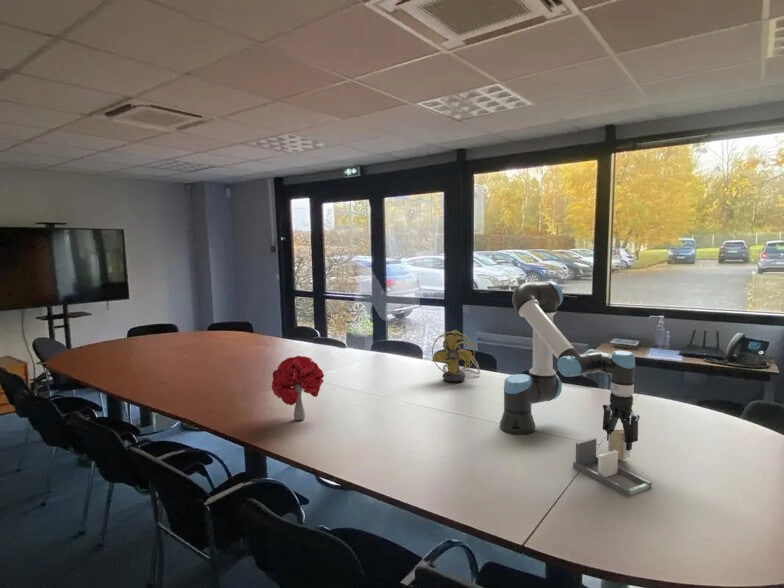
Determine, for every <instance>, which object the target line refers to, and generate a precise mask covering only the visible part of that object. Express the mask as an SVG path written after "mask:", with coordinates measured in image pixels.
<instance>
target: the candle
mask: <svg viewBox="0 0 784 588" xmlns="http://www.w3.org/2000/svg"><path fill="white" fill-rule="evenodd" d="M623 441H625V435H624V429H614V431H613V432H611V450H610V451H613V450H616V451H618V460H625V459H624V458H623Z"/></svg>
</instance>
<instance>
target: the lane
mask: <svg viewBox="0 0 784 588" xmlns="http://www.w3.org/2000/svg"><path fill="white" fill-rule="evenodd" d="M594 463H597V464H598V455H597V438H596V437H591V438H588V439H584V440H580V441H576V442H575V461H572V468H574V469H576V470H578V471H579V472H582V473H583V474H586V475H587V476H589V477H590V478H593V479H594V480H597V482H600V483H602V484H604V485H605V486H608V487H610V488H611V489H613V490H615V491H617V492H619V493H621V494H623V496H626V497H629V496H632V495H634V494H637V493H640V492H643V491H645V489H646V490H648V489H650V488H652V482H651V481H649V480H648V479H645V478H644V477H642V476H640V475H637V474H635V473H633V472H631V471H629V470H627V469H625V468H623V467H622V466H619V465H618V470H617V474H619V475H621V476H623V477H625V478H627V479H629V480H630V481H633V482H634V483H635V482H636V483H637V484H638V485H636V486H633V487H630V488H627V487H625V486H623V485H621V484H620V483H618V482H616V481H614V480H612V479H610V478H608V477H605V476H603V475H601V474H599V473H598V471H596V470H593V469H591V468H589V467H587V466H588V465H592V464H594Z"/></svg>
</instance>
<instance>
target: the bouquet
mask: <svg viewBox="0 0 784 588" xmlns="http://www.w3.org/2000/svg"><path fill="white" fill-rule="evenodd" d="M324 377H325V374H324V372H323V369H321V368H320V367H319V366H318V363H316V362H315V361H314V360H313V359H312V358H311V357H307V356H301V355H297V356H290V357H287V358H285V359H284V360H283V361H281V363H279V364H278V366H277V369H275V370H273V372H272V381H271V389H272V392H273V394H274V395H275V396H276V397H277V398H278V399H281V401H282V402H283V403H284V404H285V405H289V406H294V410H293V419H294V420H296V421H300V420H304V419H305V418H306V412H305V408H304V405H303V401H302V392H303V393H306V394H309V395H311V396H313V397H315V398H317V397H318V396H319V392H320V389H321V387H322V384H323V383H324V379H323V378H324Z"/></svg>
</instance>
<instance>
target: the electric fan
mask: <svg viewBox="0 0 784 588" xmlns="http://www.w3.org/2000/svg"><path fill="white" fill-rule="evenodd" d="M450 333H452V334H450ZM446 334H449V335H447V336H446ZM460 335H461V336H460ZM439 338H444V341H442V348H443V351H437V352H435V353H434V347H435V345H436V342H437V341H438V340H439ZM463 339H467V340H468V341H469V342H468V341H465V340H463ZM458 340H460V341H459V342H458ZM461 340H463V341H461ZM446 342H447V344H446ZM461 344H463V345H466V346H467V347H469V349H470V348H472V350H473V353H472V352H471V351H470V350H466V349H462V346H461ZM475 351H476V350H475V347H474V344H473V343H472V341H471V339H470V338H469V337H468V336H467V335H465V334H463V333H461V332H460V331H458V329H454V330H452V331H447V332H444V333H442V334H441V335H439V336H437V338H436V339H435V341H434V343H433V345H432V349H431V355H432V362H433V363H434V364H435V365H436V367H437V369H439V370H440V371H441V372H442V379H444V381H449V382H461V381H464V380H465V378H466V372H470V373H473V374H475V375H480V374H481V370H480V365H479V362H478V361H477V360H476V358H475V353H476V352H475ZM460 360H462V361H464V366H463V368H461V369H460V365H459V362H460ZM436 362H437V363H441V362H443V363H446V364H444V365H443V367H442V368H441V367H440V366H439V365H438V364H437V363H436ZM473 364H474V366H475V368H476V369H477V371H474V370H471V369H470V368H471V367H472V365H473ZM446 368H447V369H446Z"/></svg>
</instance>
